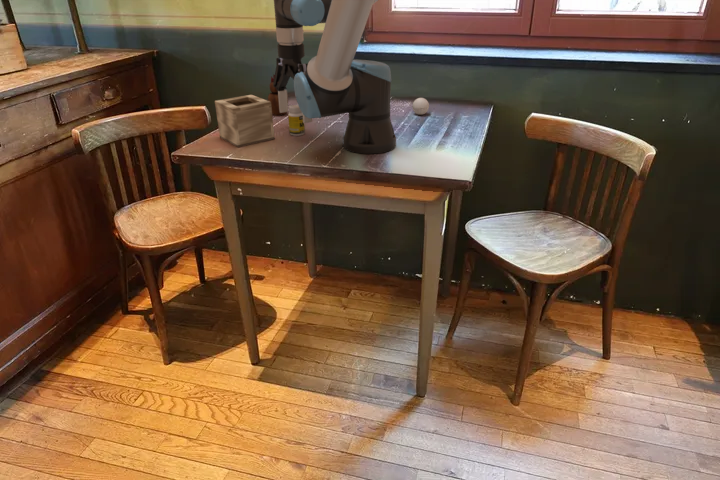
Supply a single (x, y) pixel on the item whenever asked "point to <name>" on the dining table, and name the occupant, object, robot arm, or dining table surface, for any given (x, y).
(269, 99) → the wooden figurine
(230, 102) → the drop box
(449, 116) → the dining table surface
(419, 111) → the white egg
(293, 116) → the supplement bottle
